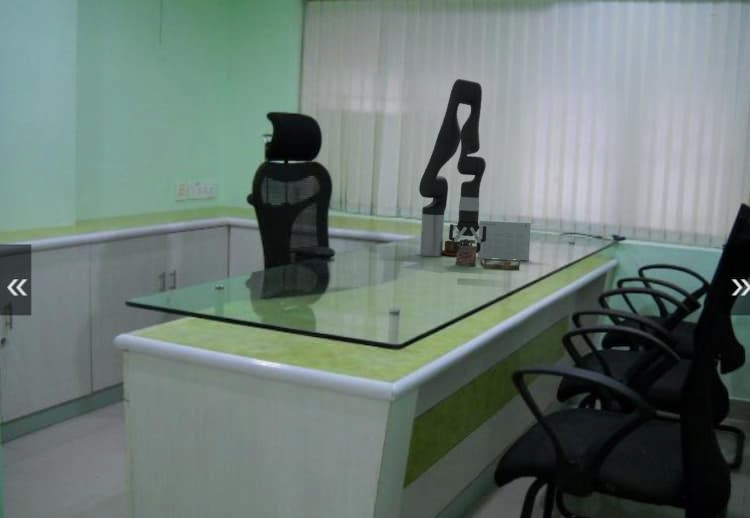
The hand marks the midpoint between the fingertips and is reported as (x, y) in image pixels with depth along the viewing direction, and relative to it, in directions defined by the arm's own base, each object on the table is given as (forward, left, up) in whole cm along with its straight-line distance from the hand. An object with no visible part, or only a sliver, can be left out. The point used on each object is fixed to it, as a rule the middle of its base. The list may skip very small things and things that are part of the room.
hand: (466, 252), depth 313 cm
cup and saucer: (-3, +34, -5) cm, 35 cm away
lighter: (0, 0, -5) cm, 5 cm away
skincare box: (+18, +30, -5) cm, 35 cm away
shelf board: (+13, +2, -5) cm, 14 cm away
